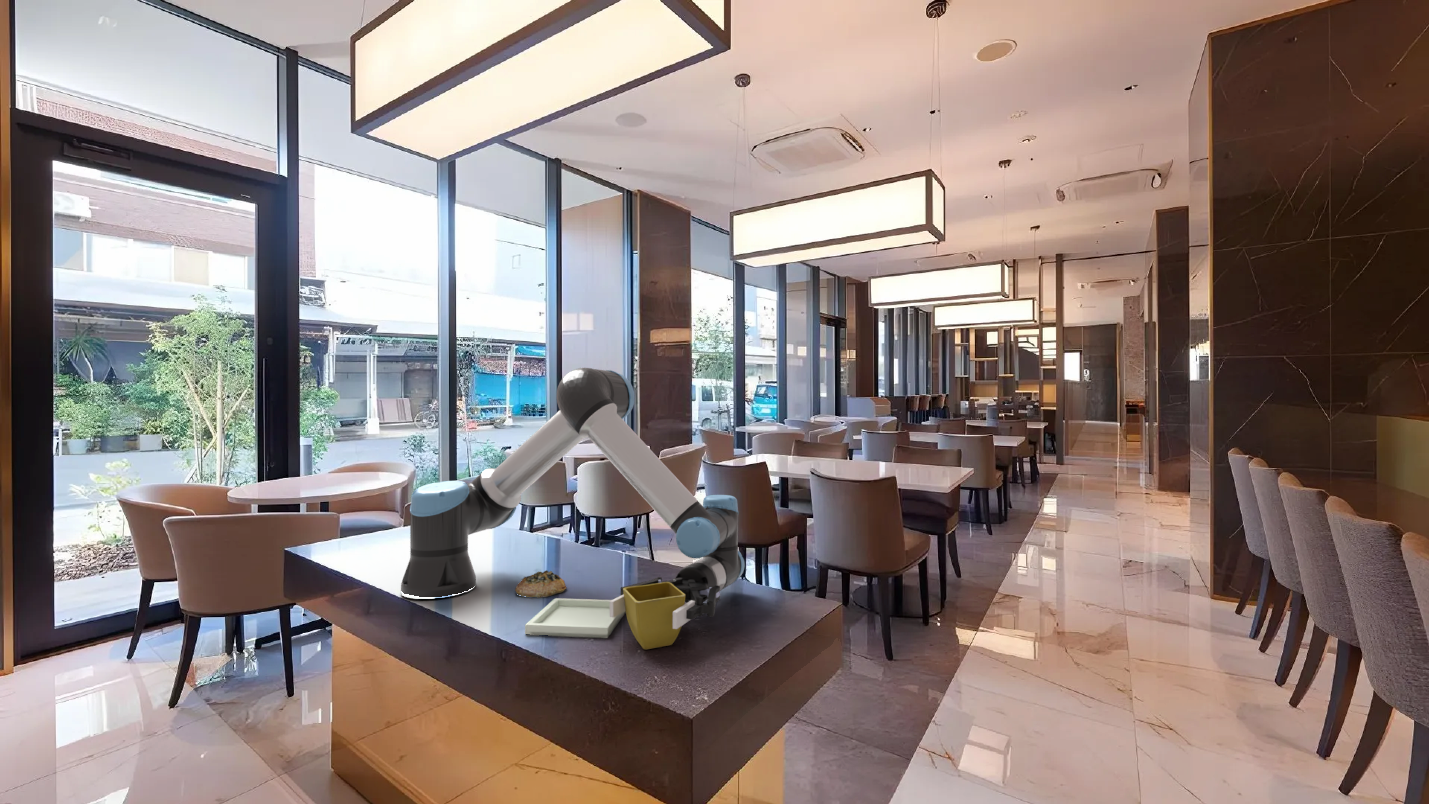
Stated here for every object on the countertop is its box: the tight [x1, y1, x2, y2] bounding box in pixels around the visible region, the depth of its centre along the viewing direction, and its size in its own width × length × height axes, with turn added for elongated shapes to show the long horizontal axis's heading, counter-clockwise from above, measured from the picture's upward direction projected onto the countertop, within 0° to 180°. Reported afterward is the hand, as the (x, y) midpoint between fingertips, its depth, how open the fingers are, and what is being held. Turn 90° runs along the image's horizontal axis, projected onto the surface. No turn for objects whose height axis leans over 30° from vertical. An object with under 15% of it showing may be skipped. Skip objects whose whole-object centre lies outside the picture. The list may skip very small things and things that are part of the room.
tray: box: [524, 597, 626, 639], centre depth 113 cm, size 15×15×2 cm
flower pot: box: [623, 582, 686, 650], centre depth 103 cm, size 9×9×9 cm
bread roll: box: [515, 569, 567, 598], centre depth 132 cm, size 11×11×5 cm
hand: (642, 614), depth 99 cm, fingers closed on flower pot, 12 cm apart
